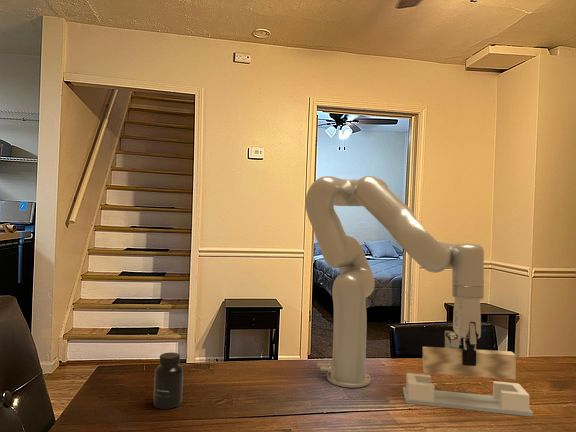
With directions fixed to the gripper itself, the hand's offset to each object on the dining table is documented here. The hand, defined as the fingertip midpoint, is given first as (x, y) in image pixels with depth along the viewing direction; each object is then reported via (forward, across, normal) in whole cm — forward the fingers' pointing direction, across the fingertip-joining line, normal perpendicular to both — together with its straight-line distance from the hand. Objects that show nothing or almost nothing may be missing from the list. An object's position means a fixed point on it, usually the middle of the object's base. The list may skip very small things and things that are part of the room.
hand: (467, 362), depth 108 cm
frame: (+11, 0, -1) cm, 11 cm away
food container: (+11, -28, +3) cm, 30 cm away
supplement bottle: (+9, +19, -74) cm, 77 cm away
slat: (+3, 0, 0) cm, 3 cm away
